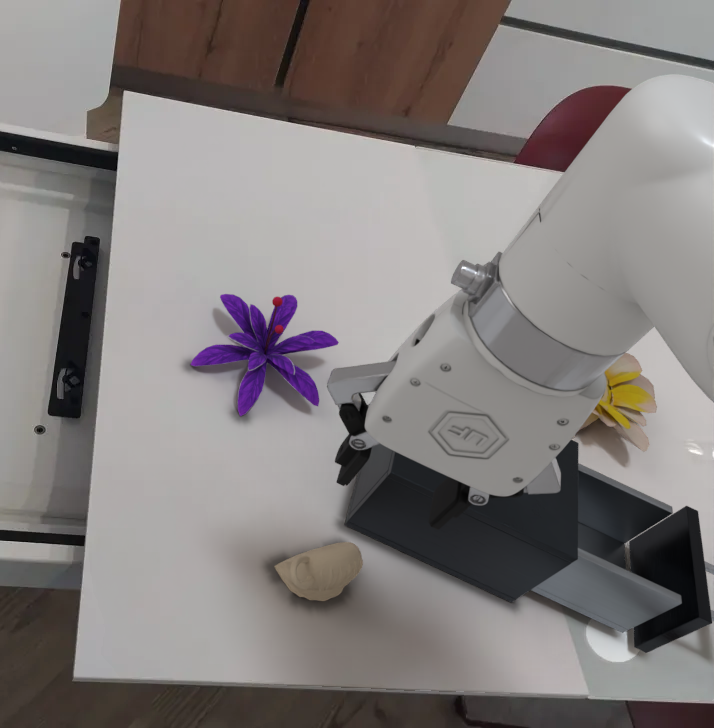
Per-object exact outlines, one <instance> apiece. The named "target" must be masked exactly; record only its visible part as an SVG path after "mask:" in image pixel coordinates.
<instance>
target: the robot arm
mask: <svg viewBox="0 0 714 728" xmlns="http://www.w3.org/2000/svg"><path fill="white" fill-rule="evenodd" d="M450 284H452V285H453V286H456V287H458V288H460V290H458V291H457V292H456V293H454V294H453V295H452V296H450V297H449V298H448V299H446V300H445V301H444V302H443V303H442V304H441V305H439V306H438V307H437V308H436V309H435V310H434V311H432V313H431V314H430V315H429V316H427V317H426V318H425V319H424V320H423V321H422V322H421V323H420V324H419V325H418V326H417V327H416V328H415V329H414V331H413V332H412V333H411V334H410V335H409V336H408V337H407V338H406V339H405V340H404V341H403V343H401V345H400V346H399V347H398V348H397V349H396V351H395V352H394V353H393V354H392V355H391V357H390V358H389V360H388V361H382V362H375V363H367V364H359V365H351V366H344V367H337V368H333V369H332V370H331V372H330V375H329V377H328V380H327V384H326V389H327V391H328V393H329V395H330V396H331V399H332V401H333V402H334V404H335V406H337V408H338V415H339V418H340V419H341V421H342V423H343V425H344V427H345V429H346V431H347V433H348V434H347V436H346V437H345V438H344V440H343V441H342V442H341V444H340V446H339V448H338V450H337V453H336V456H335V459H334V463H335V464H337V465H339V466H340V468H339V471H338V475H337V478H336V484H337V485H340V486H342V487H345V486H348V485H349V484H350V483H351V482H352V481H353V480H354V478H355V477H357V475H358V472H359V471H360V470H361V468H362V467H363V466H364V465H365V463H366V462H367V461H368V459H369V457H370V454H371V450H372V447H373V446H375V445H378V444H382V445H384V446H385V447H387V448H389V449H391V450H393V451H395V452H397V453H399V454H401V455H403V456H405V457H408V458H410V459H412V460H414V461H416V462H418V463H420V464H422V465H424V466H427V467H429V468H431V469H433V470H435V471H437V472H439V473H442V474H444V475H446V476H448V477H447V478H446V479H445V480H444V481H443V482H442V483H441V484H440V485H439V486H438V487H437V488H436V489H435V491H434V493H433V499H432V505H431V510H430V516H429V524H430V526H431V527H432V528H435V529H437V530H439V529H440V528H441V527H442V526H443V525H445V524H446V523H447V522H448V521H449V520H450V519H451V518H452V517H453V518H457V517H458V516H460V515H461V514H462V513H463V512H464V511H465V510H466V509H467V508H469V507H470V506H471V505H472V504H474V505H479V506H480V505H485V504H487V502H488V499H489V498H516V497H520V496H522V495H523V493H528V494H551V493H557V492H559V491H560V490H561V472H560V469H559V466H558V463H557V460H556V456H557V455H558V454H559V453H560V452H561V451H562V450H563V449H564V447H565V446H566V445H567V444H568V443H569V442H570V440H573V438H574V437H575V435H576V434H577V433H578V432H579V431H580V430H581V429H580V428H581V426H582V425H583V424H584V422H585V421H586V420H587V418H588V417H589V415H590V414H591V413H592V411H593V410H594V409H595V407H596V405H597V404H598V402H599V401H600V399H601V398H602V396H603V394H604V393H605V390H606V377H605V371H606V370H607V369H608V368H609V367H610V366H612V365H613V364H614V363H615V362H616V361H617V360H618V359H619V358H620V357H621V356H623V355H624V354H625V353H627V352H628V351H630V350H631V349H632V348H633V347H634V346H635V345H636V344H637V343H639V342H640V341H641V340H642V339H643V338H644V337H645V336H646V335H647V334H648V333H649V332H651V330H653V329H655V330H656V331H657V333H658V334H659V335H660V337H661V339H662V340H663V341H664V343H665V344H666V346H667V347H668V348H669V350H670V352H671V353H672V354H673V355H674V357H675V358H676V360H677V362H679V364H680V366H681V367H682V368H683V369H684V371H685V372H686V374H687V375H688V376H689V378H690V379H691V381H693V382H694V384H695V385H696V386H697V387H698V388H699V389H700V391H702V393H703V394H704V396H706V397H707V398H708V399H709V400H710V401H711V402H712V403H714V82H713V81H709V80H706V79H703V78H699V77H696V76H692V75H687V74H681V73H670V74H660V75H656V76H653V77H650V78H648V79H645V80H644V81H642V82H640V83H639V84H637V85H636V86H634V87H632V88H631V89H630V90H629V91H628V92H627V93H625V95H624V96H623V97H622V98H621V99H620V101H618V103H617V104H616V105H615V107H614V108H613V109H612V110H611V111H610V112H609V114H608V115H607V116H606V118H605V119H604V120H603V121H602V123H601V124H600V125H599V126H598V128H597V129H596V131H595V132H594V133H593V134H592V136H591V137H590V138H589V140H588V141H587V142H586V144H585V145H584V146H583V147H582V149H581V150H580V151H579V153H578V154H577V155H576V157H575V158H574V159H573V161H572V162H571V163H570V165H569V166H568V167H567V169H566V170H565V171H564V172H563V173H562V175H561V176H560V177H559V179H558V180H557V181H556V182H555V184H554V185H553V187H552V188H551V189H550V190H549V192H548V193H547V194H546V196H545V197H544V198H543V200H542V201H541V202H540V203H539V204H538V206H537V208H535V210H534V211H533V212H532V214H531V215H530V217H529V218H528V219H527V221H525V223H524V224H523V225H522V227H521V228H520V230H519V231H518V232H517V233H516V235H515V236H514V237H513V239H512V240H511V241H510V242H509V244H508V245H507V247H506V248H505V249H504V250H503V252H501V251H497V253H496V254H495V255H494V257H493V258H492V259H491V260H490V261H488V262H486V263H485V264H484V265H482V264H480V263H476V264H473V263H472V262H469V261H467V260H465V259H462V260H461V261H460V262H459V263H458V265H457V266H456V268H455V270H454V272H453V274H452V276H451V279H450ZM367 393H374V396H373V397H372V398H371V401H370V403H367V402H366V399H364V396H363V394H367ZM579 429H580V430H579Z"/></svg>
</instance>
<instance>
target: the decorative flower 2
mask: <svg viewBox="0 0 714 728" xmlns="http://www.w3.org/2000/svg"><path fill="white" fill-rule="evenodd" d="M642 371H643V368H642V365H641V363H640V361H639V360H638V359H637V358H636V356H635V355H633V354H630V353H629V352H628V353H627V352H626V353H625V354H624V355H623V356H621V357H620V358H619V359H618V360H617V361H616V362H615V363H614V364H613V365H612V366H610V367H609V368H608V369H607V370H606V371H605V377H606V390H605V393H604V394H603V396H602V398H601V399H600V401H599V402H598V404H597V405H596V407H595V409H594V410H593V411H592V413H591V414H590V415H589V417H588V418H587V420H586V421H585V422H584V424H583V425H582V426H581V428H580V429H579V430H578V431H580V430H582V429H584V428H587V427H588V426H590V425H591V424H593V423H594V422H596V421H597V420H598V419H599V420H600V421H601V422H603V423H604V424H605V425H606V426H607V427H608V428H609V427H612V428H613V429H614V430H615V431H616V432H617V433H618V434H619V435H620V436H622V437H623V438H624V439H625V440H626V441H627V442H629V443H630V444H631V445H633V446H635V447H636V448H637V449H639V450H640V451H641V452H643V453H646V452H647V450H648V449H649V447H650V439H649V437H648V436H647V434H646V432H645V431H644V430H643V428H641V427H646V426H647V419H646V418H645V416H644V415H643V414H642V413H645V414H646V413H647V414H656V413H657V410H658V405H657V402H656V400H655V399H656V393H655V388H654V387H655V386H654V385H653V383H652V382H651V381H650V379H649V378H647V377H646V376H644V375H643V374H641V373H642ZM635 422H636V423H635ZM639 425H640V426H641V427H640V426H639Z"/></svg>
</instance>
